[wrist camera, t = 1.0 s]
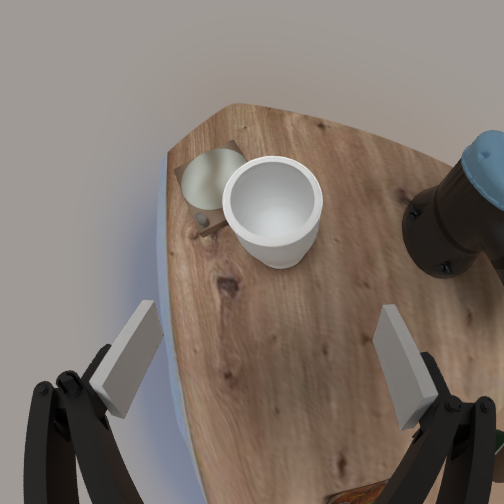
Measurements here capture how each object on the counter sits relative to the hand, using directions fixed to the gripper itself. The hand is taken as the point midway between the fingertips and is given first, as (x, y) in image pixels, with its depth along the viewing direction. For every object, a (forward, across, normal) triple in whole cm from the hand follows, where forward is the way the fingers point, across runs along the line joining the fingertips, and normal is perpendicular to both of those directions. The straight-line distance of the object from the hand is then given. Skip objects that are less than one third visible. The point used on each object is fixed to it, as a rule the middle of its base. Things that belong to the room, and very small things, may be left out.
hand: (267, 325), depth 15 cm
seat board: (+34, -9, +1) cm, 35 cm away
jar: (+27, +1, -6) cm, 28 cm away
